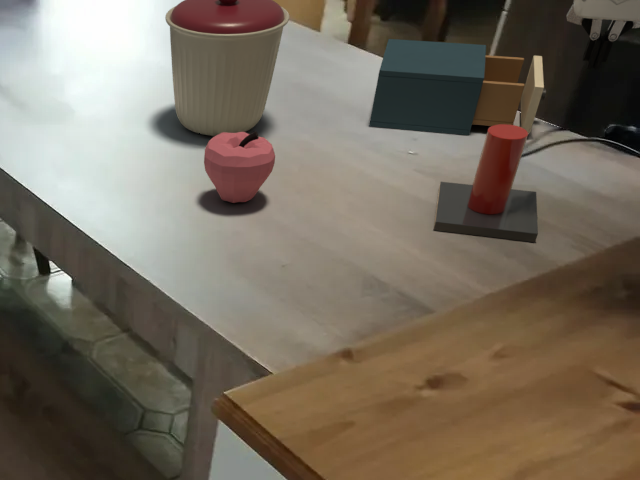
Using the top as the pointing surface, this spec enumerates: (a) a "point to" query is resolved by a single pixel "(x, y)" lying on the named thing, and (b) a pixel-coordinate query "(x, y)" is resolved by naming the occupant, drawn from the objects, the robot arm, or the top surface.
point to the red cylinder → (497, 168)
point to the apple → (238, 164)
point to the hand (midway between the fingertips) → (592, 65)
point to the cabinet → (428, 86)
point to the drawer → (509, 92)
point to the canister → (223, 61)
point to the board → (507, 224)
